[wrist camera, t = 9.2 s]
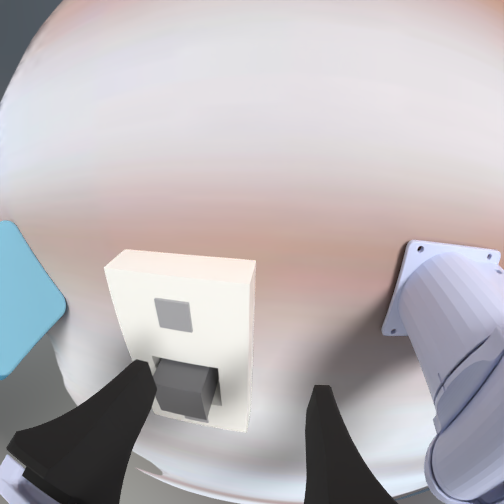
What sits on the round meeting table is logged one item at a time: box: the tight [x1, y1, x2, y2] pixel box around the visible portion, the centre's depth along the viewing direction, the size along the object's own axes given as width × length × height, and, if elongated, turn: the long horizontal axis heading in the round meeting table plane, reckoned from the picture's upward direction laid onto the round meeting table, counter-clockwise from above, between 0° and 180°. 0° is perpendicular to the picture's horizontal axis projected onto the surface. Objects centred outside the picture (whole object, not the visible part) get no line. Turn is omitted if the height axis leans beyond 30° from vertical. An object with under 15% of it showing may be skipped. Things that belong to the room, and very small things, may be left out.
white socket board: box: [104, 249, 256, 432], centre depth 21 cm, size 10×18×3 cm, turn 179°
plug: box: [153, 358, 219, 420], centre depth 21 cm, size 4×4×6 cm
